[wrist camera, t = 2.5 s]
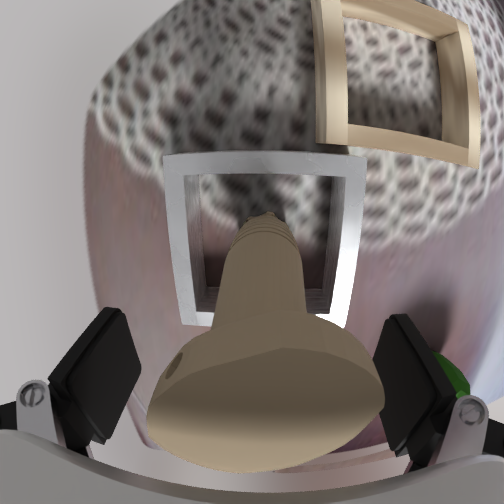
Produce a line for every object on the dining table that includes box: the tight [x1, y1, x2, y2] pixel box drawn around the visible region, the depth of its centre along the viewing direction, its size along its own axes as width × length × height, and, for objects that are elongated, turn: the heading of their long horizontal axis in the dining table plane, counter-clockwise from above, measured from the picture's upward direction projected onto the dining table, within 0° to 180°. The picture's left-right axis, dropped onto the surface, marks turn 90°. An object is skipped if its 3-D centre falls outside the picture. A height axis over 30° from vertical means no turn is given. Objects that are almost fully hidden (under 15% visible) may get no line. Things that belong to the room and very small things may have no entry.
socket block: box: [163, 150, 367, 328], centre depth 18 cm, size 11×11×4 cm
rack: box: [311, 0, 480, 169], centre depth 12 cm, size 11×11×4 cm
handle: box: [147, 211, 385, 473], centre depth 12 cm, size 5×6×15 cm
